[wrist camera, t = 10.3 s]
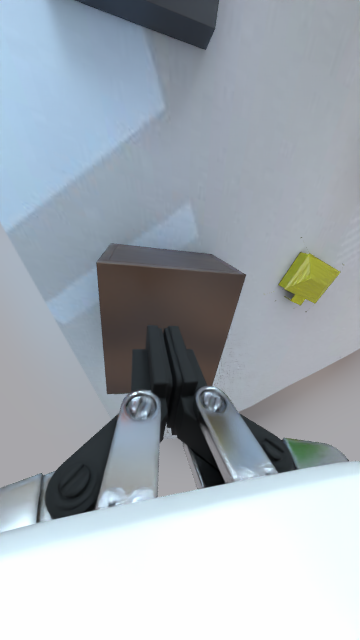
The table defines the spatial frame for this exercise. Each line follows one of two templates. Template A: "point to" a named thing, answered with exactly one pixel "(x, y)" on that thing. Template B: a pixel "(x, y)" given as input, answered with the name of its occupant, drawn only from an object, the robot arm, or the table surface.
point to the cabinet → (163, 305)
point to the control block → (167, 16)
